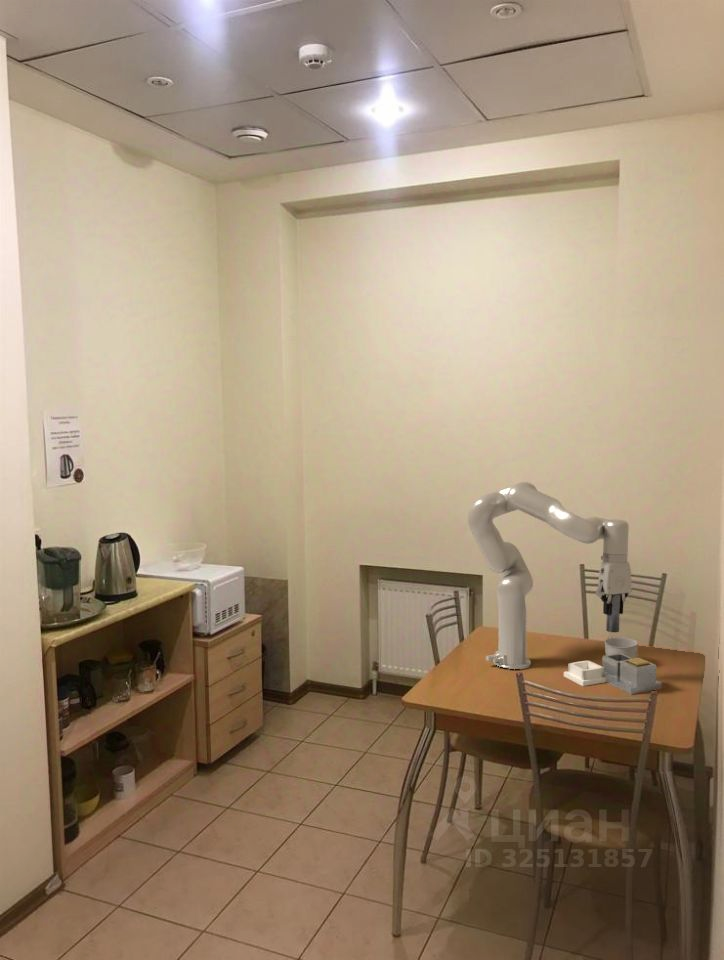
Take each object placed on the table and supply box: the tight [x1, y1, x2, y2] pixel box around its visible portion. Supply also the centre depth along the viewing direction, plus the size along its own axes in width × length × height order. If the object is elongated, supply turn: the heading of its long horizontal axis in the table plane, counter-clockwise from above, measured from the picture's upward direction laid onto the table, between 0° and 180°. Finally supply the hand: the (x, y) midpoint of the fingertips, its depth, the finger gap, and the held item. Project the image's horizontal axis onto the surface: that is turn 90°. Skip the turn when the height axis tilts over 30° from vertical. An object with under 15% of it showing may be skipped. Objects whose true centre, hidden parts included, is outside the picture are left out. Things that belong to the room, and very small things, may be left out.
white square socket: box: [563, 659, 606, 687], centre depth 253 cm, size 10×10×4 cm
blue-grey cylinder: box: [605, 594, 621, 633], centre depth 251 cm, size 4×4×15 cm
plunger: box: [628, 657, 650, 667], centre depth 244 cm, size 4×4×6 cm
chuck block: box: [601, 653, 663, 695], centre depth 249 cm, size 12×17×8 cm
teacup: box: [604, 635, 639, 658], centre depth 268 cm, size 14×11×8 cm
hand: (613, 613), depth 251 cm, fingers closed on blue-grey cylinder, 4 cm apart
